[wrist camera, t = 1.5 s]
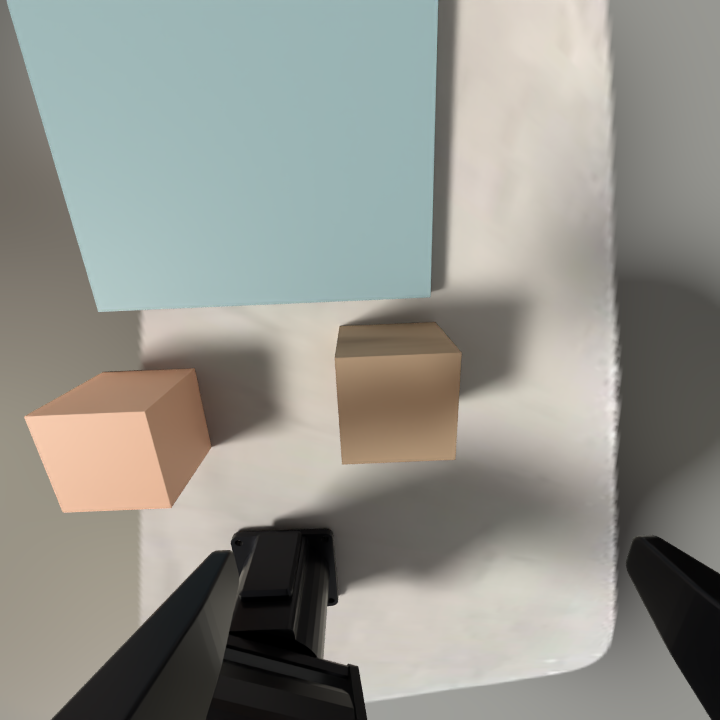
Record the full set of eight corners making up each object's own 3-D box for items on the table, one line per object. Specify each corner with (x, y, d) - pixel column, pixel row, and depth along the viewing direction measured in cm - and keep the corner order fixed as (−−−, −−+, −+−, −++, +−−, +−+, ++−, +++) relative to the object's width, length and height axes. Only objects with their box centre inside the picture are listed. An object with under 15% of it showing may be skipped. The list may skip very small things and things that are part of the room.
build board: (426, 293, 18) (430, 297, 17) (111, 307, 18) (98, 311, 17) (436, -160, 13) (443, -191, 12) (-14, -138, 13) (-43, -167, 12)
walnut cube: (432, 406, 21) (455, 459, 16) (344, 410, 21) (342, 464, 16) (434, 321, 19) (461, 352, 14) (339, 325, 19) (334, 357, 14)
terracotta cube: (211, 446, 21) (171, 507, 17) (127, 449, 21) (63, 512, 17) (195, 367, 20) (144, 411, 15) (103, 371, 20) (24, 416, 15)
